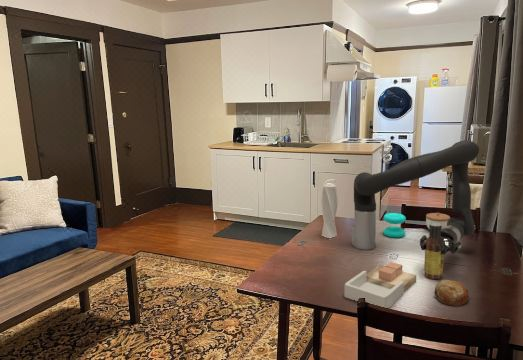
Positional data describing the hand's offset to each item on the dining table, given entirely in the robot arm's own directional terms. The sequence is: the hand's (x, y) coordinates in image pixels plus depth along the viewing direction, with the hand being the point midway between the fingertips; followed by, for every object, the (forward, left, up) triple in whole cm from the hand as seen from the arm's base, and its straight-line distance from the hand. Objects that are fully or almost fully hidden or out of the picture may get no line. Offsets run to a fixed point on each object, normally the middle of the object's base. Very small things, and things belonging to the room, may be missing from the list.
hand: (432, 249), depth 139 cm
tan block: (-10, -9, -8) cm, 16 cm away
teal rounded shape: (-30, +36, -11) cm, 48 cm away
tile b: (-10, -14, -8) cm, 19 cm away
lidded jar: (-16, +54, -11) cm, 58 cm away
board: (-10, -12, -11) cm, 19 cm away
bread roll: (+10, -10, -11) cm, 18 cm away
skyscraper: (-53, +15, -11) cm, 56 cm away
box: (-10, -24, -11) cm, 28 cm away
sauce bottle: (0, +2, -11) cm, 11 cm away
